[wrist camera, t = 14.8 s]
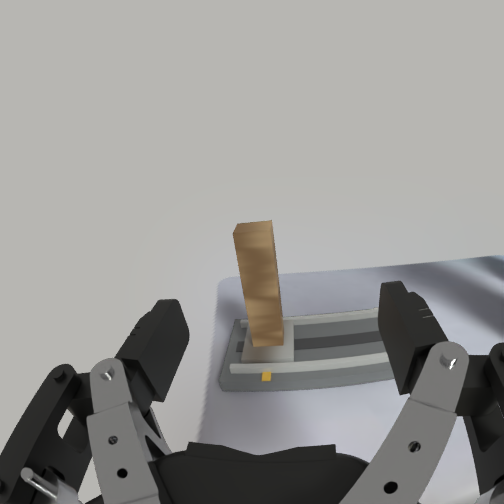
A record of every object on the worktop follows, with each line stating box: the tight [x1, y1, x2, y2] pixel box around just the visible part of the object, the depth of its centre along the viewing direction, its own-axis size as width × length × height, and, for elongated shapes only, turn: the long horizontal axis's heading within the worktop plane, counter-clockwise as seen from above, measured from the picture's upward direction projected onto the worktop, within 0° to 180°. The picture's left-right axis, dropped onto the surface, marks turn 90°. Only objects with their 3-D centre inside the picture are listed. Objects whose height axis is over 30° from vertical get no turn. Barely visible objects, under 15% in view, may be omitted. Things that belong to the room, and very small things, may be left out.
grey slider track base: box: [219, 307, 395, 391], centre depth 28 cm, size 21×10×2 cm, turn 84°
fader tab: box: [233, 220, 294, 364], centre depth 26 cm, size 5×6×13 cm
